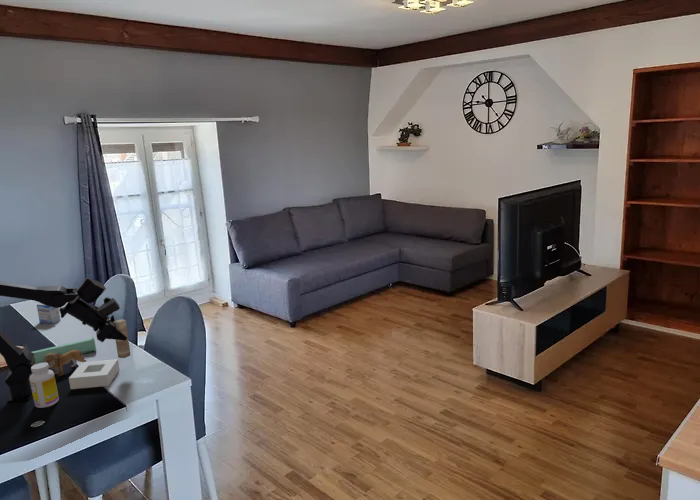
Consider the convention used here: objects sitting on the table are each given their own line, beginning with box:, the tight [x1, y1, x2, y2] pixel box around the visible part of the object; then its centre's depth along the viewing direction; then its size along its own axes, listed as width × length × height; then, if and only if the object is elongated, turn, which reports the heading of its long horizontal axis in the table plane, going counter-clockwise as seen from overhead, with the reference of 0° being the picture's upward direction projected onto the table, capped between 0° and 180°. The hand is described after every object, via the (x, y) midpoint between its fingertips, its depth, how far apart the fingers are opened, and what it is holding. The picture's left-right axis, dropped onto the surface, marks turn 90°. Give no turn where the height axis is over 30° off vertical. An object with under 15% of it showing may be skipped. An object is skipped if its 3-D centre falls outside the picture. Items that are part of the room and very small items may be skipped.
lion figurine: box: [44, 350, 87, 376], centre depth 181 cm, size 15×5×9 cm, turn 153°
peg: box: [113, 319, 131, 359], centre depth 175 cm, size 4×4×12 cm
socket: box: [68, 358, 120, 390], centre depth 175 cm, size 12×12×4 cm
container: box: [31, 336, 97, 365], centre depth 193 cm, size 6×6×25 cm
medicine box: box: [36, 302, 62, 325], centre depth 231 cm, size 8×4×9 cm, turn 73°
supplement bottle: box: [29, 362, 60, 409], centre depth 159 cm, size 7×7×13 cm
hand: (125, 337), depth 176 cm, fingers closed on peg, 4 cm apart
